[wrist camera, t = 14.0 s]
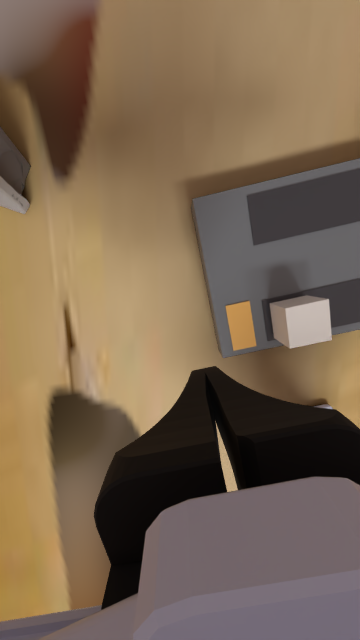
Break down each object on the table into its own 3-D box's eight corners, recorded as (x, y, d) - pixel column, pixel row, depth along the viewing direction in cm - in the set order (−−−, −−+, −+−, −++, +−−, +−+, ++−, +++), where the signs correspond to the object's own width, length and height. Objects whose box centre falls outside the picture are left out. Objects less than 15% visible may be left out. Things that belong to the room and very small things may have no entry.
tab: (309, 330, 18) (331, 339, 15) (274, 338, 18) (289, 348, 15) (306, 295, 17) (328, 298, 15) (269, 303, 17) (285, 308, 15)
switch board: (475, 295, 20) (510, 298, 17) (218, 350, 21) (223, 358, 18) (487, 135, 17) (529, 116, 15) (191, 207, 18) (192, 198, 16)
